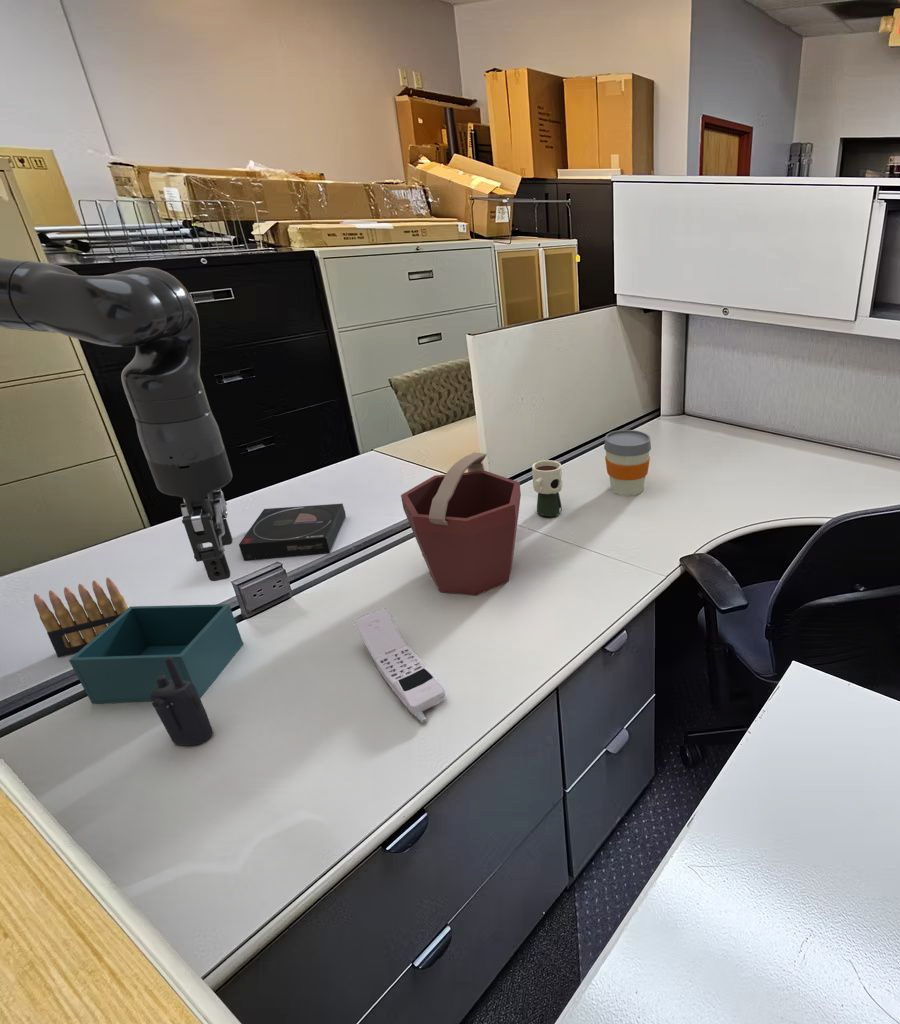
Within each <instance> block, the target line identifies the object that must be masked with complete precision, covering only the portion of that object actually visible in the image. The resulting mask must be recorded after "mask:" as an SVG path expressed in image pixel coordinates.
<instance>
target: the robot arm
mask: <svg viewBox="0 0 900 1024" xmlns="http://www.w3.org/2000/svg"><path fill="white" fill-rule="evenodd" d="M199 319H200V318H199V314H198V309H197V307H196V304H195V302H194V300H193V298H192V296H191V294H190V293H189V291H188V289H187V288H186V287H185V286H184V285H183V283H182V282H181V281H180V280H179V279H177V277H175V276H174V275H173V274H170V273H169V272H167V271H165V270H162V269H160V268H155V267H147V266H145V267H137V268H131V269H127V270H122V271H118V272H114V273H108V274H104V275H79V274H78V273H77V272H75V271H73V270H71V269H69V268H67V267H64V266H61V265H59V264H58V265H57V264H54V263H49V262H41V261H32V260H22V259H13V258H12V259H11V258H3V257H0V328H1V329H9V330H17V331H18V330H19V331H28V332H29V331H30V332H39V333H40V332H41V333H55V334H56V333H57V334H61V335H64V336H66V337H70V338H73V339H77V340H80V341H84V342H87V343H91V344H95V345H99V346H106V347H112V348H113V347H114V348H134V347H135V354H134V357H133V358H132V360H131V361H130V362H128V364H127V365H126V366H125V367H124V368H123V370H122V371H121V374H120V375H121V376H120V377H121V384H122V387H123V390H124V394H125V397H126V399H127V401H128V405H129V407H130V409H131V410H130V411H131V412H132V416H133V418H134V421H135V425H136V431H137V437H138V440H139V443H140V446H141V448H142V451H143V454H144V456H145V459H146V462H147V464H148V465H147V466H148V467H149V470H150V473H151V475H152V478H153V482H154V483H155V486H156V488H157V490H158V491H159V492H160V493H162V494H164V495H167V496H172V497H179V498H182V501H183V503H180V509H181V515H182V519H181V522H182V524H183V525H184V528H185V531H186V535H187V538H188V540H189V544H190V547H191V549H192V552H193V558H194V560H195V561H196V562H197V563H199V562H202V563H203V566H204V569H205V571H206V575H207V577H208V580H209V581H211V582H219V581H221V580H228V579H230V577H231V569H230V566H229V564H228V560H227V557H226V554H225V546H229V545H232V544H233V536H232V533H231V530H230V526H229V523H228V512H227V511H228V508H227V505H228V503H227V501H226V499H225V497H224V492H223V491H222V489H223V488H225V486H227V485H228V484H229V483H230V482H231V481H232V479H233V470H232V468H231V464H230V462H229V461H230V460H229V458H228V455H227V454H228V453H227V450H226V448H225V444H224V441H223V437H222V434H221V431H220V427H219V424H218V422H217V421H216V418H215V416H214V415H213V411H212V409H211V406H210V402H209V400H208V395H207V393H206V388H205V385H204V383H203V380H202V378H201V377H202V376H201V333H200V332H201V331H200V330H201V329H200V320H199ZM208 543H210V544H211V546H205V547H204V544H208Z"/></svg>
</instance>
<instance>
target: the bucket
mask: <svg viewBox="0 0 900 1024" xmlns="http://www.w3.org/2000/svg"><path fill="white" fill-rule="evenodd" d="M486 457H487V453H483V452H476V451H475V452H474V451H473V452H472V453H470V454H468V455H465V456H464V457H462V458H460V459H459V460H458V461H456V462H455V463H454V464H453V465H452V466H451V467H450V468H449V469H448V470H447V472H446V473H445V474H436V475H433V476H431V477H429V478H428V479H425V480H424V481H423V482H421V483H419V484H417V485H416V486H414V487H412V488H410V489H408V490H407V491H405V492H403V493H402V494H400V498H401V502H402V503H401V504H402V508H403V511H404V513H405V516H406V519H407V522H408V523H409V526H410V528H411V531H412V533H413V535H414V538H415V541H416V543H417V545H418V548H419V550H420V552H421V555H422V557H423V559H424V562H425V564H426V566H427V570H428V572H429V574H430V576H431V578H432V580H433V582H434V583H435V586H436V588H437V589H438V591H439V593H444V594H445V593H447V594H456V595H467V596H478V595H481V594H483V593H485V592H487V591H490V590H492V589H495V588H497V587H500V586H502V585H503V584H505V583H506V584H507V583H509V582H510V578H511V573H512V567H513V562H514V556H515V555H514V554H515V547H516V538H517V529H518V522H519V513H520V504H521V496H522V495H521V493H522V492H521V482H520V481H517V480H515V479H511V478H508V477H505V476H502V475H499V474H496V473H493V472H491V471H487V470H485V467H484V466H485V465H484V462H483V461H484V460H485V459H486ZM466 471H467V472H466Z"/></svg>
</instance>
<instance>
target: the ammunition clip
mask: <svg viewBox="0 0 900 1024" xmlns="http://www.w3.org/2000/svg"><path fill="white" fill-rule="evenodd" d="M77 585H78V586H77V590H78V594H79V597H80V599H81V603H82V604H81V603H80V602H79V599H77V596H76V595H75V594H74V592H73V591H72V590H71V589H70V588H69V587H68V586H64V588H63V594H64V598H65V601H66V603H67V605H68V608H67V607H66V606H65V605H64V603H63V602H62V599H61V598H60V597H59V596H58V594H57V593H56V592H55V591H54V590H52V589H51V590H49V591H48V597H49V601H50V604H51V606H52V609H53V611H51V609H50V608H49V606H48V605H47V603H46V601H45V599H44V598H43V597H41V596H40V595H39V594H37V593H34V594H33V602H34V605H35V608H36V610H37V613H38V615H39V619H40V622H41V623H42V625H43V627H44V629H45V630H46V632H47V633H46V634H47V636H48V638H49V641H50V643H51V645H52V647H53V651H54V652H55V654H56V657H57V658H63V657H66V656H69V655H75V654H77V653H78V652H79V651H80V650H81V649H82V648H83V647H85V646H86V645H87V644H88V643H89V642H90V641H91V640H93V639H94V638H95V637H96V636H97V635H98V634H99V633H101V632H102V631H103V630H104V629H105V628H106V627H107V626H109V625H110V624H111V623H112V622H113V621H114V620H115V619H117V618H118V617H119V616H120V615H121V614H122V613H123V612H125V611H126V610H127V609H128V608H129V605H127V602H126V600H125V598H124V596H123V595H122V594H121V591H120V590H119V589H118V587H117V585H116V584H115V582H114V581H113V580H112V579H111V578H110V577H106V578H105V585H106V588H107V591H108V594H109V597H110V598H109V597H108V596H107V593H105V591H104V589H103V588H102V586H101V585H100V583H98V582H97V581H96V580H92V583H91V587H92V590H93V593H94V596H95V599H96V601H95V599H94V598H93V597H92V596H91V593H90V592H89V590H88V589H87V587H85V585H84V584H82V583H79V584H77Z"/></svg>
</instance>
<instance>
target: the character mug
mask: <svg viewBox="0 0 900 1024" xmlns="http://www.w3.org/2000/svg"><path fill="white" fill-rule="evenodd" d="M531 473H532V474H531V475H532V487H533V490H534V492H536V493H537V498H536V499H537V500H536V513H537V514H539V515H542V516H543V517H544V516H545V517H555V516H558V515H560V513H562V512H563V509H562V508H563V507H562V501H561V496H560V492H561V491H562V489H563V486H564V485H563V480H562V477H563V468H562V464H561V463H560V462H559V461H556V460H550V459H546V460H539V461H536V462H533V464H532V465H531Z"/></svg>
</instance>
